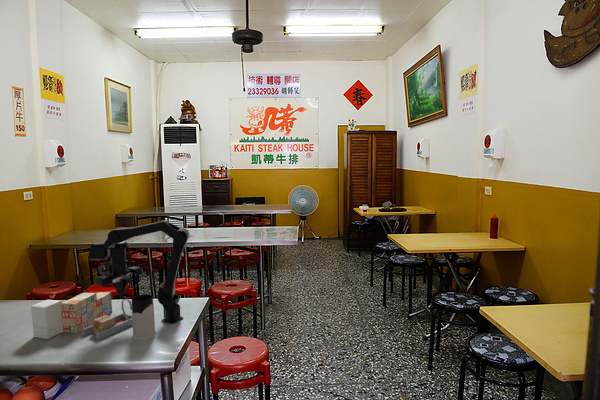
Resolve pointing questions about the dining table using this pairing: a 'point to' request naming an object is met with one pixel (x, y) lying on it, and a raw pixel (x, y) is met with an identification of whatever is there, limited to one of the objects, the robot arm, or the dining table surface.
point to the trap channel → (119, 325)
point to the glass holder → (142, 317)
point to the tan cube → (103, 323)
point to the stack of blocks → (84, 310)
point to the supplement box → (47, 319)
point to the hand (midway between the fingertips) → (120, 295)
